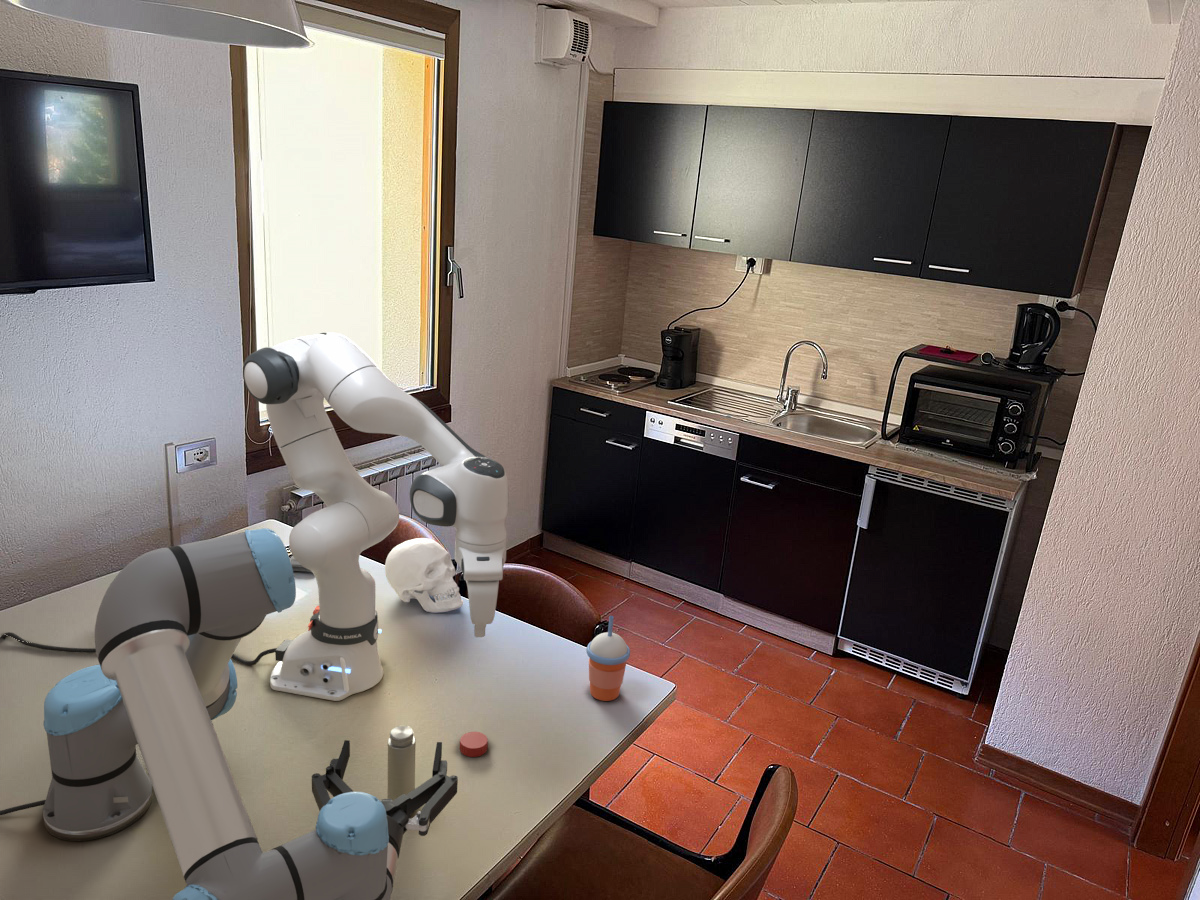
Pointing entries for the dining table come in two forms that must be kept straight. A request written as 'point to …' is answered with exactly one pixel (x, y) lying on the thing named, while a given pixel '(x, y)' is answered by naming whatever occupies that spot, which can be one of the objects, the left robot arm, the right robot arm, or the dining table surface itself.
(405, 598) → the skull
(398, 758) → the jar
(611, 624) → the cup with straw
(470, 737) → the lid
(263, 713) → the dining table surface
